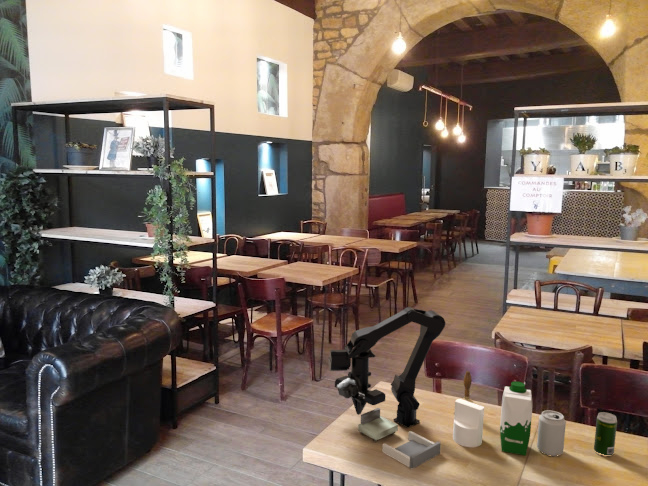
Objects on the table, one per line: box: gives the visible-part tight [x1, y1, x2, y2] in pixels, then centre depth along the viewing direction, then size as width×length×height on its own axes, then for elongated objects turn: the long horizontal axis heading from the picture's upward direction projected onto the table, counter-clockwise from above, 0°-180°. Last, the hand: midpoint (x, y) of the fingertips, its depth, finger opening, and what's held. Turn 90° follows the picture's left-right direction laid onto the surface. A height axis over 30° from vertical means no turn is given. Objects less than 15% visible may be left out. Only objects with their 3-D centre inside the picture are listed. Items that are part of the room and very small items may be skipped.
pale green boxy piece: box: [357, 407, 399, 443], centre depth 169 cm, size 10×8×6 cm
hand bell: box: [462, 370, 474, 403], centre depth 183 cm, size 8×8×16 cm
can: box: [536, 409, 567, 457], centre depth 161 cm, size 8×8×12 cm
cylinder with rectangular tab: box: [452, 398, 485, 448], centre depth 166 cm, size 9×9×12 cm
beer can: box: [593, 411, 618, 456], centre depth 160 cm, size 5×5×12 cm
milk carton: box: [499, 380, 533, 457], centre depth 161 cm, size 9×9×20 cm
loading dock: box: [381, 430, 441, 470], centre depth 159 cm, size 13×12×4 cm
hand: (358, 414), depth 176 cm, fingers closed
